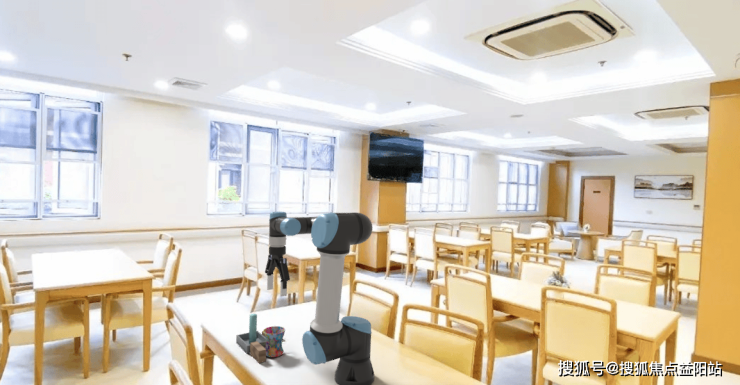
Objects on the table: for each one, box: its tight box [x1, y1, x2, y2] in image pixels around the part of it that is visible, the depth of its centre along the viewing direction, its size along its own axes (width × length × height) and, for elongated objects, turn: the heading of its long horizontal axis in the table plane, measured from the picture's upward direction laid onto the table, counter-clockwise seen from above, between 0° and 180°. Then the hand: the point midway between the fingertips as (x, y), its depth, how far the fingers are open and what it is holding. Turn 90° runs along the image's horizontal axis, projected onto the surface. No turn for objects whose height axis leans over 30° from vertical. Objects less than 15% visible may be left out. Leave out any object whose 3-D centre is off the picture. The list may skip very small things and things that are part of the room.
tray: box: [235, 330, 266, 355], centre depth 174 cm, size 14×10×4 cm
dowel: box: [248, 313, 258, 344], centre depth 174 cm, size 3×3×13 cm
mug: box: [262, 325, 286, 358], centre depth 167 cm, size 12×9×11 cm
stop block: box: [249, 341, 267, 364], centre depth 162 cm, size 10×3×5 cm, turn 37°
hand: (276, 292), depth 173 cm, fingers open, 13 cm apart
